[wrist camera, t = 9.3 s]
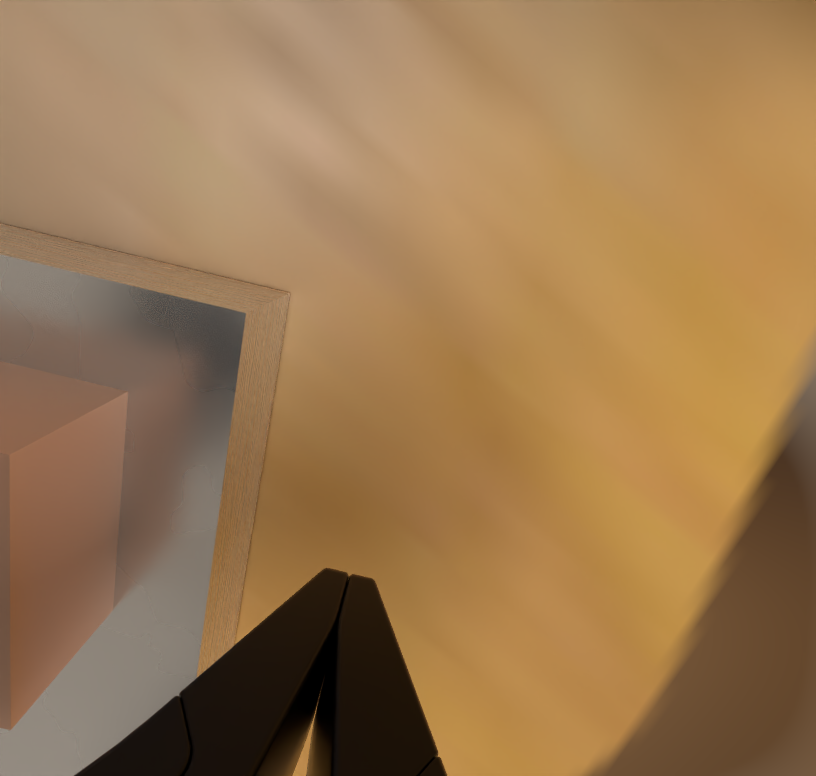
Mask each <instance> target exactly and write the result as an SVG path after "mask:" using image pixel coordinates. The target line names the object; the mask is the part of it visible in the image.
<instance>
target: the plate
mask: <svg viewBox="0 0 816 776" xmlns="http://www.w3.org/2000/svg"><path fill="white" fill-rule="evenodd" d="M289 298H290V293H289V292H284V291H280V290H276V289H272V288H268V287H264V286H259V285H255V284H251V283H247V282H243V281H239V280H234V279H230V278H226V277H222V276H218V275H214V274H209V273H205V272H201V271H197V270H193V269H189V268H185V267H180V266H176V265H172V264H168V263H164V262H160V261H155V260H151V259H147V258H143V257H139V256H135V255H130V254H126V253H122V252H118V251H114V250H110V249H105V248H101V247H97V246H93V245H89V244H85V243H80V242H76V241H72V240H68V239H64V238H60V237H55V236H51V235H47V234H43V233H39V232H35V231H31V230H26V229H22V228H18V227H14V226H10V225H6V224H1V223H0V361H2V362H7V363H11V364H15V365H19V366H23V367H28V368H32V369H36V370H40V371H44V372H49V373H53V374H57V375H61V376H65V377H70V378H74V379H78V380H82V381H87V382H91V383H95V384H99V385H103V386H108V387H112V388H116V389H120V390H124V391H128V401H127V416H126V430H125V444H124V459H123V473H122V488H121V502H120V517H119V531H118V545H117V560H116V574H115V589H114V603H113V611H112V612H111V613H110V614H109V615H108V617H107V618H106V619H105V620H104V621H103V622H102V624H101V625H100V626H99V627H98V628H97V630H96V631H95V632H94V633H93V634H92V635H91V637H90V638H89V639H88V640H87V641H86V642H85V644H84V645H83V646H82V647H81V648H80V649H79V651H78V652H77V653H76V654H75V655H74V657H73V658H72V659H71V660H70V661H69V662H68V664H67V665H66V666H65V667H64V668H63V669H62V671H61V672H60V673H59V674H58V675H57V677H56V678H55V679H54V680H53V681H52V682H51V684H50V685H49V686H48V687H47V688H46V689H45V691H44V692H43V693H42V694H41V695H40V697H39V698H38V699H37V700H36V701H35V702H34V704H33V705H32V706H31V707H30V708H29V709H28V711H27V712H26V713H25V714H24V715H23V717H22V718H21V719H20V720H19V721H18V722H17V724H16V725H15V726H14V727H13V728H12V729H11V730H7V729H3V728H0V776H74V775H75V774H77V773H78V772H79V771H81V770H82V769H84V768H85V767H86V766H88V765H89V764H90V763H92V762H93V761H95V760H96V759H97V758H99V757H100V756H101V755H103V754H104V753H106V752H107V751H108V750H110V749H111V748H112V747H114V746H115V745H117V744H118V743H119V742H120V741H122V740H123V739H124V738H125V737H126V736H128V735H129V734H130V733H131V732H133V731H134V730H135V729H136V728H138V727H139V726H140V725H141V724H143V723H144V722H145V721H146V720H147V719H149V718H150V717H151V716H152V715H154V714H155V713H156V712H157V711H158V710H159V709H161V708H162V707H163V706H164V705H165V704H166V703H167V702H169V701H170V700H171V699H172V698H173V697H175V696H179V693H180V692H181V691H182V690H183V689H184V688H185V687H187V686H188V685H189V684H190V683H191V682H192V681H194V680H195V679H196V678H197V677H198V676H199V675H201V674H202V673H203V672H204V671H205V670H206V669H208V668H209V667H210V666H211V665H212V664H213V663H215V662H216V661H217V660H218V659H219V658H220V657H222V656H223V655H224V654H225V653H226V652H227V651H229V650H230V649H231V648H232V647H233V646H234V641H235V635H236V629H237V622H238V616H239V610H240V604H241V597H242V591H243V585H244V579H245V572H246V566H247V560H248V554H249V547H250V541H251V535H252V529H253V522H254V516H255V510H256V504H257V498H258V491H259V485H260V479H261V473H262V466H263V460H264V454H265V448H266V441H267V435H268V429H269V423H270V416H271V410H272V404H273V398H274V391H275V385H276V379H277V373H278V366H279V360H280V354H281V348H282V341H283V335H284V329H285V323H286V316H287V310H288V304H289Z"/></svg>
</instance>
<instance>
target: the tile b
mask: <svg viewBox="0 0 816 776" xmlns="http://www.w3.org/2000/svg"><path fill="white" fill-rule="evenodd" d="M127 401H128V391H124V390H120V389H116V388H112V387H108V386H103V385H99V384H95V383H91V382H87V381H82V380H78V379H74V378H70V377H65V376H61V375H57V374H53V373H49V372H44V371H40V370H36V369H32V368H28V367H23V366H19V365H15V364H11V363H7V362H2V361H0V728H3V729H7V730H11V729H12V728H13V727H14V726H15V725H16V724H17V722H18V721H19V720H20V719H21V718H22V717H23V715H24V714H25V713H26V712H27V711H28V709H29V708H30V707H31V706H32V705H33V704H34V702H35V701H36V700H37V699H38V698H39V697H40V695H41V694H42V693H43V692H44V691H45V689H46V688H47V687H48V686H49V685H50V684H51V682H52V681H53V680H54V679H55V678H56V677H57V675H58V674H59V673H60V672H61V671H62V669H63V668H64V667H65V666H66V665H67V664H68V662H69V661H70V660H71V659H72V658H73V657H74V655H75V654H76V653H77V652H78V651H79V649H80V648H81V647H82V646H83V645H84V644H85V642H86V641H87V640H88V639H89V638H90V637H91V635H92V634H93V633H94V632H95V631H96V630H97V628H98V627H99V626H100V625H101V624H102V622H103V621H104V620H105V619H106V618H107V617H108V615H109V614H110V613H111V612H112V611H113V603H114V589H115V574H116V560H117V545H118V531H119V517H120V502H121V488H122V473H123V459H124V444H125V430H126V416H127Z"/></svg>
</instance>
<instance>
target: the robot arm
mask: <svg viewBox="0 0 816 776" xmlns="http://www.w3.org/2000/svg"><path fill="white" fill-rule="evenodd" d="M348 578H349V579H348ZM319 696H320V697H319ZM318 700H319V701H318ZM317 704H318V705H317ZM316 707H317V710H316ZM315 711H316V714H315ZM314 714H315V719H314V724H313V730H312V737H311V744H310V751H309V759H308V766H307V774H306V776H447V774H446V771H445V768H444V766H443V763H442V760H441V758H440V757H438V750H437V747H436V745H435V742H434V739H433V736H432V734H431V731H430V728H429V726H428V723H427V720H426V718H425V715H424V712H423V709H422V707H421V704H420V701H419V699H418V696H417V693H416V691H415V688H414V685H413V682H412V680H411V677H410V674H409V672H408V669H407V666H406V663H405V661H404V658H403V655H402V653H401V650H400V647H399V645H398V642H397V639H396V636H395V634H394V631H393V628H392V626H391V623H390V620H389V617H388V615H387V612H386V609H385V607H384V604H383V601H382V599H381V596H380V593H379V590H378V588H377V585H376V583H375V581H374V580H373V579H372V578H368V577H364V576H359V575H355V574H352V575H351V576H350V577H349V576H348V574H347V573H346V572H343V571H338V570H334V569H330V568H325V569H323V570H322V571H321V572H319V573H318V574H317V575H316V576H315V577H314V578H312V579H311V580H310V581H309V582H308V583H307V584H305V585H304V586H303V587H302V588H301V589H300V590H298V591H297V592H296V593H295V594H294V595H293V596H291V597H290V598H289V599H288V600H287V601H286V602H284V603H283V604H282V605H281V606H280V607H279V608H277V609H276V610H275V611H274V612H273V613H272V614H270V615H269V616H268V617H267V618H266V619H265V620H263V621H262V622H261V623H260V624H259V625H258V626H256V627H255V628H254V629H253V630H252V631H251V632H250V633H248V634H247V635H246V636H245V637H244V638H243V639H241V640H240V641H239V642H238V643H237V644H236V645H234V646H233V647H232V648H231V649H230V650H229V651H227V652H226V653H225V654H224V655H223V656H222V657H220V658H219V659H218V660H217V661H216V662H215V663H213V664H212V665H211V666H210V667H209V668H208V669H206V670H205V671H204V672H203V673H202V674H201V675H199V676H198V677H197V678H196V679H195V680H194V681H192V682H191V683H190V684H189V685H188V686H187V687H185V688H184V689H183V690H182V691H181V692H180V693H179V696H175V697H173V698H172V699H171V700H170V701H169V702H167V703H166V704H165V705H164V706H163V707H162V708H161V709H159V710H158V711H157V712H156V713H155V714H154V715H152V716H151V717H150V718H149V719H147V720H146V721H145V722H144V723H143V724H141V725H140V726H139V727H138V728H136V729H135V730H134V731H133V732H131V733H130V734H129V735H128V736H126V737H125V738H124V739H123V740H122V741H120V742H119V743H118V744H117V745H115V746H114V747H112V748H111V749H110V750H108V751H107V752H106V753H104V754H103V755H101V756H100V757H99V758H97V759H96V760H95V761H93V762H92V763H90V764H89V765H88V766H86V767H85V768H84V769H82V770H81V771H79V772H78V773H77V774H75V775H74V776H292V775H293V773H294V770H295V767H296V765H297V762H298V759H299V757H300V754H301V751H302V749H303V746H304V743H305V741H306V738H307V735H308V733H309V730H310V727H311V724H312V721H313V718H314Z"/></svg>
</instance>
